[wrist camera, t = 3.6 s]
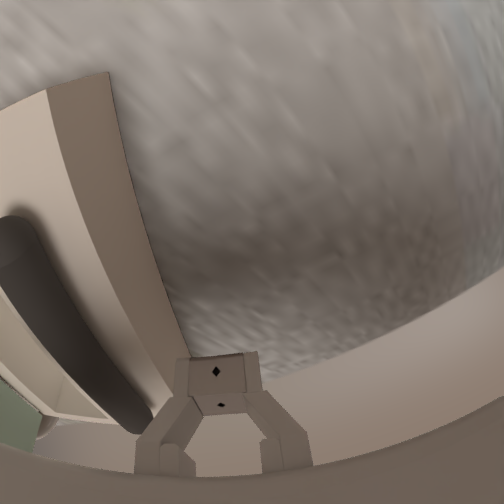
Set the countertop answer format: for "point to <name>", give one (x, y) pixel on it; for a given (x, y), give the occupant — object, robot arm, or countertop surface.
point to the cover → (17, 420)
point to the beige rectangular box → (84, 248)
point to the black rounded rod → (63, 325)
